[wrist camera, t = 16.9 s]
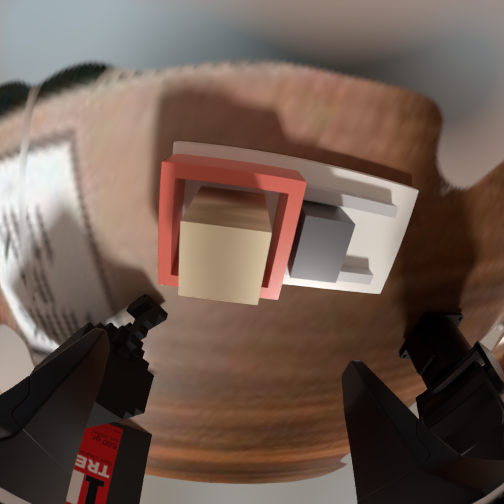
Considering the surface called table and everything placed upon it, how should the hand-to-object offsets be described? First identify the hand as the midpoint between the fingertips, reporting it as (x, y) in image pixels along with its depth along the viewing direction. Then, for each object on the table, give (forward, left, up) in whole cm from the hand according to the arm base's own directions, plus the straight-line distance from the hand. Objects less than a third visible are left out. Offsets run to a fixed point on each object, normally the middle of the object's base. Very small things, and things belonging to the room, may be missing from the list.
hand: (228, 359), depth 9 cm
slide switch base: (-4, -1, -12) cm, 12 cm away
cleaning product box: (+18, +39, -12) cm, 45 cm away
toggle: (-5, -1, -11) cm, 12 cm away
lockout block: (+1, -1, -11) cm, 11 cm away
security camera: (+12, +14, -12) cm, 22 cm away
